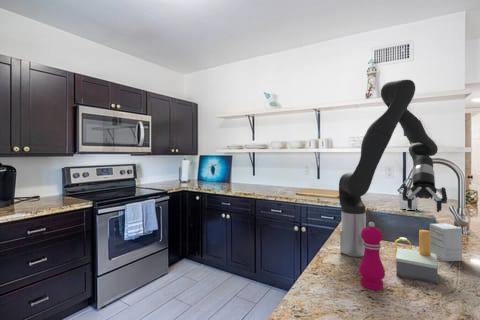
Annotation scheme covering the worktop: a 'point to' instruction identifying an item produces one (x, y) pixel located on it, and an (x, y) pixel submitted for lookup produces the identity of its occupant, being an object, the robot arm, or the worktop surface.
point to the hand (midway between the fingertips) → (424, 209)
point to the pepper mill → (371, 258)
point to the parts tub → (416, 272)
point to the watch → (403, 240)
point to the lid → (419, 252)
